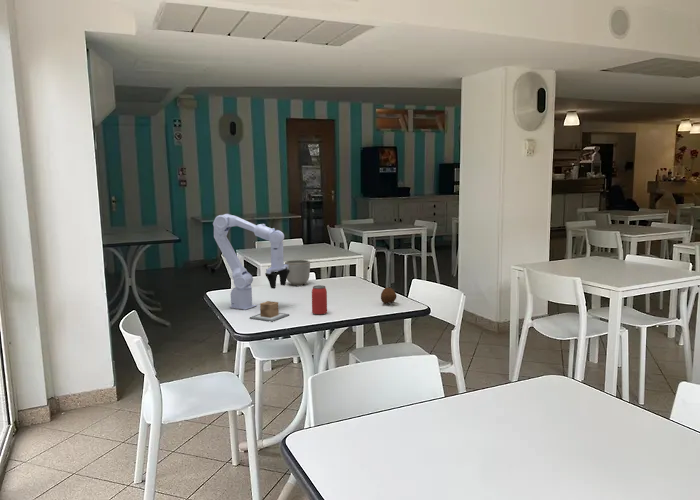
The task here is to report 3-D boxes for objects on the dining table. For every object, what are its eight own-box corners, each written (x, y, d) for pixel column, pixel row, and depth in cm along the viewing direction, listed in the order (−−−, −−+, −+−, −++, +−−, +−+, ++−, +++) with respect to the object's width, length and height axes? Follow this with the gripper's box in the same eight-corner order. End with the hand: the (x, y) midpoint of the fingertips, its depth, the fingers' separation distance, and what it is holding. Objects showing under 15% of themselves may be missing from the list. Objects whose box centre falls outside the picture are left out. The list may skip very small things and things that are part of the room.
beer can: (325, 315, 238) (324, 288, 236) (310, 314, 239) (309, 287, 238) (328, 311, 244) (328, 285, 243) (314, 311, 246) (313, 284, 244)
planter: (309, 287, 298) (308, 263, 296) (283, 287, 298) (283, 263, 297) (311, 282, 312) (311, 259, 310) (287, 282, 312) (286, 259, 310)
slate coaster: (249, 318, 234) (249, 317, 234) (266, 312, 244) (266, 310, 244) (272, 322, 228) (272, 320, 228) (289, 315, 239) (289, 313, 238)
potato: (393, 301, 263) (393, 285, 262) (398, 306, 253) (398, 289, 252) (378, 302, 262) (378, 285, 261) (382, 306, 252) (382, 290, 251)
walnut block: (260, 316, 235) (260, 303, 234) (268, 313, 240) (268, 301, 239) (270, 317, 232) (270, 305, 232) (278, 314, 237) (278, 302, 236)
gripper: (274, 260, 241) (275, 290, 242) (293, 255, 253) (294, 284, 255) (262, 259, 244) (262, 289, 246) (281, 254, 257) (281, 283, 258)
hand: (278, 286), depth 251 cm, fingers open, 7 cm apart
